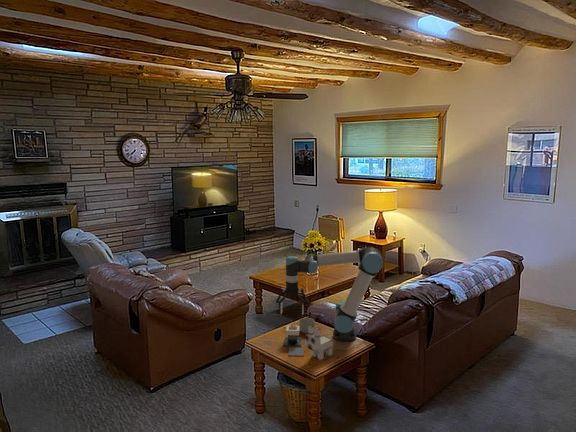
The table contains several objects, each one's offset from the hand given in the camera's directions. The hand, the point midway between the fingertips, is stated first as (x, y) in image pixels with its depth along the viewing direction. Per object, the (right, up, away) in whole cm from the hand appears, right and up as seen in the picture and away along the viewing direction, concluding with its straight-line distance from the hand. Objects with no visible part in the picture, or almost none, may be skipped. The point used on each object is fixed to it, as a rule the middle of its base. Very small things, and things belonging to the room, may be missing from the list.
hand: (292, 313), depth 268 cm
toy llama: (+17, -22, -15) cm, 32 cm away
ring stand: (+1, -19, +3) cm, 20 cm away
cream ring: (0, -12, +2) cm, 13 cm away
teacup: (+10, -17, +21) cm, 29 cm away
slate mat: (+2, -21, -10) cm, 23 cm away
